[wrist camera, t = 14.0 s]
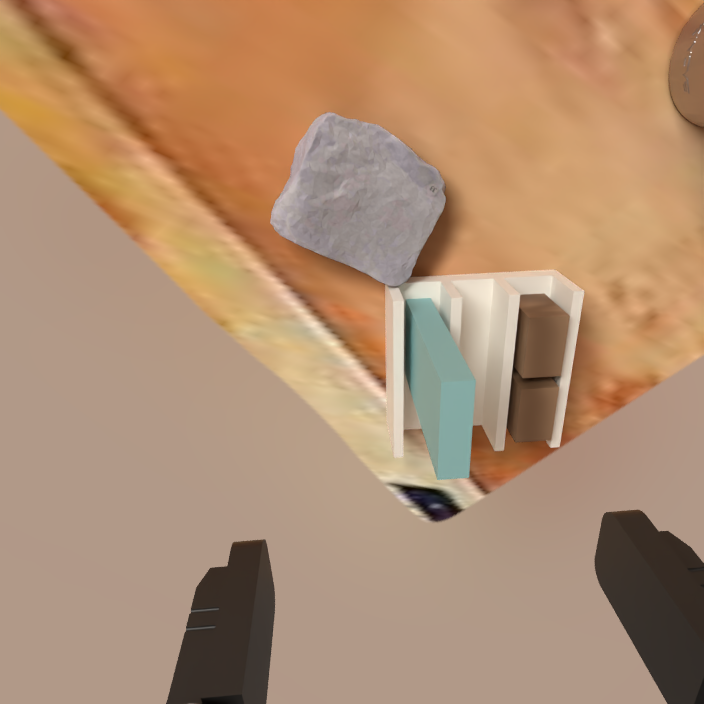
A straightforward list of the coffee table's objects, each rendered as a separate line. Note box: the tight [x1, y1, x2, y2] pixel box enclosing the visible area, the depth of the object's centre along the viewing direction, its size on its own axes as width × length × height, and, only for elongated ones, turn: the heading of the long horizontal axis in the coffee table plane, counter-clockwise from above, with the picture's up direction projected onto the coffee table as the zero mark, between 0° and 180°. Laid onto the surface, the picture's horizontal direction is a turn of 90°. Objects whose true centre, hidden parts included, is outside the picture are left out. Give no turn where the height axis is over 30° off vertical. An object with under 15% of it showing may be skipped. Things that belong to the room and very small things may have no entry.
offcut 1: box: [513, 293, 570, 378], centre depth 42 cm, size 3×5×5 cm, turn 2°
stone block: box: [271, 112, 446, 286], centre depth 40 cm, size 12×5×10 cm
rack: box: [385, 270, 584, 457], centre depth 44 cm, size 14×14×6 cm
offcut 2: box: [506, 366, 559, 442], centre depth 45 cm, size 3×5×5 cm, turn 2°
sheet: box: [405, 298, 476, 480], centre depth 38 cm, size 2×7×14 cm, turn 2°
